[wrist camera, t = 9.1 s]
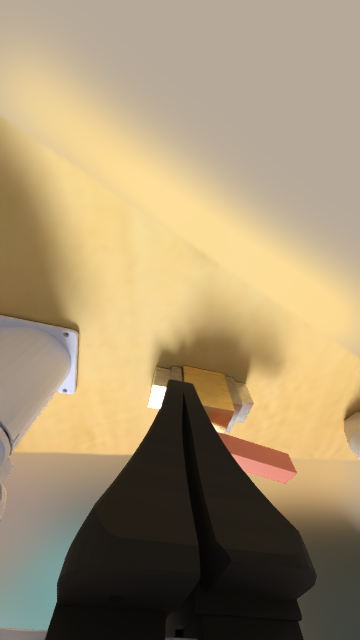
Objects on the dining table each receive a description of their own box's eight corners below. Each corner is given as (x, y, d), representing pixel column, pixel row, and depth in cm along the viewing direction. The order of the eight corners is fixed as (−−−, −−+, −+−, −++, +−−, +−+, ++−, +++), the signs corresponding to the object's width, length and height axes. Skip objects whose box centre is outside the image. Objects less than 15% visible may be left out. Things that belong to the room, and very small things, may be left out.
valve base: (150, 392, 23) (142, 438, 18) (157, 360, 22) (151, 402, 17) (234, 407, 24) (248, 455, 19) (248, 378, 23) (268, 422, 18)
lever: (188, 439, 18) (189, 458, 16) (199, 424, 17) (201, 442, 16) (276, 465, 19) (284, 485, 18) (289, 452, 19) (298, 472, 17)
